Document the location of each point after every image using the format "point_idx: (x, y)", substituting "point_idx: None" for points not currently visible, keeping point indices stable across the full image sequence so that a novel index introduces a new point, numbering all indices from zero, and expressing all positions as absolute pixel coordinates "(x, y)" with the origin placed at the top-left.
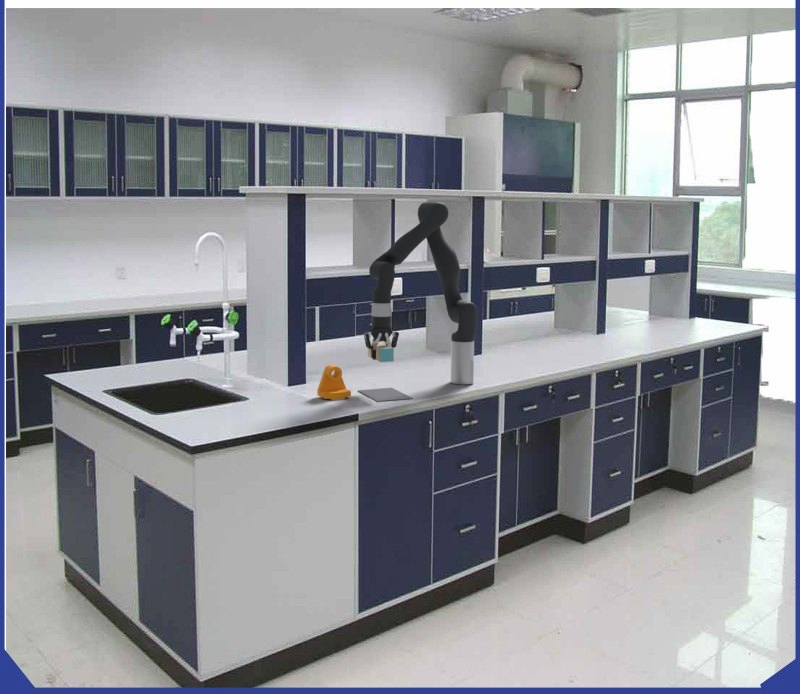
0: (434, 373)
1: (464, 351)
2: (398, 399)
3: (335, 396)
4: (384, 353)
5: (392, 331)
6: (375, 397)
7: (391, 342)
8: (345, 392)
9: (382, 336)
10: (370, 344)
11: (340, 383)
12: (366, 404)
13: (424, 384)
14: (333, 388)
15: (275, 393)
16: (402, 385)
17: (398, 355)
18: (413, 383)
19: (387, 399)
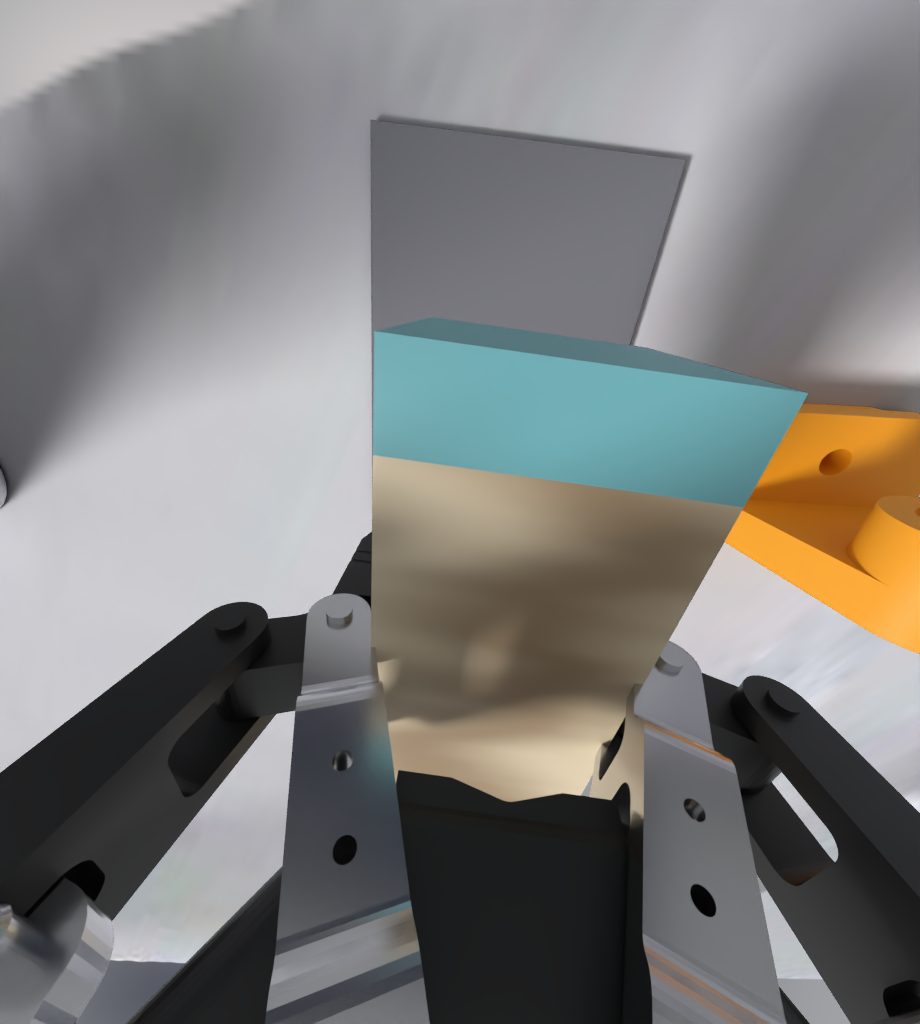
0: (82, 664)
1: None
2: (498, 138)
3: (863, 410)
4: (637, 359)
5: None
6: (613, 302)
7: (241, 756)
8: (801, 411)
9: (513, 1010)
10: (806, 761)
11: (785, 519)
12: (819, 117)
13: (167, 513)
14: (816, 508)
15: (913, 664)
16: (290, 544)
17: (171, 857)
18: (220, 556)
19: (583, 175)
